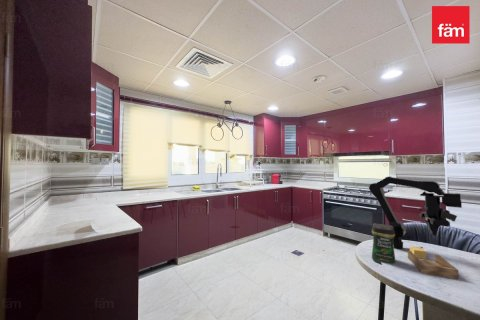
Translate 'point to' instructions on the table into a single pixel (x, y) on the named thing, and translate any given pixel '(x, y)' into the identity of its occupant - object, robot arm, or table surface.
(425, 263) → the walnut cubby
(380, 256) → the coffee jar
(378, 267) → the table surface
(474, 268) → the table surface
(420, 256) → the ochre cube
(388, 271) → the table surface
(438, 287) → the table surface
